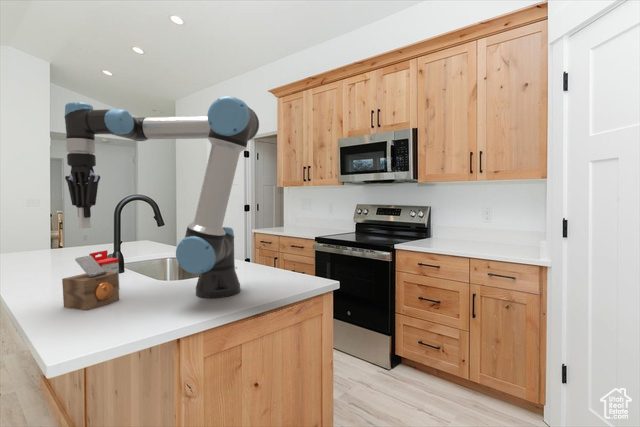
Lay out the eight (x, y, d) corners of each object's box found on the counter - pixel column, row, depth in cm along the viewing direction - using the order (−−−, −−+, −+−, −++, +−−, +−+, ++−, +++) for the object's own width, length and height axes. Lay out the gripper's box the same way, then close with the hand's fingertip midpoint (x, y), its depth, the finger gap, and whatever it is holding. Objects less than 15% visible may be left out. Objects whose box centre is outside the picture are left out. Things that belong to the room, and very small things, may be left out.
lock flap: (105, 274, 117) (107, 272, 117) (89, 278, 112) (90, 276, 112) (90, 257, 119) (92, 254, 119) (73, 260, 114) (75, 257, 114)
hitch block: (119, 299, 120) (117, 273, 119) (86, 310, 109) (84, 281, 109) (97, 296, 124) (96, 270, 123) (63, 307, 113) (62, 278, 112)
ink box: (102, 296, 125) (99, 254, 124) (89, 295, 126) (87, 253, 125) (120, 289, 133) (118, 250, 132) (108, 289, 134) (106, 249, 133)
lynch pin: (113, 297, 117) (112, 280, 116) (97, 302, 112) (96, 284, 111) (89, 294, 121) (88, 277, 120) (72, 299, 116) (71, 281, 115)
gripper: (107, 153, 115) (110, 227, 117) (78, 155, 120) (82, 226, 121) (84, 151, 108) (88, 229, 110) (55, 153, 113) (59, 228, 114)
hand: (84, 227), depth 115 cm, fingers closed
